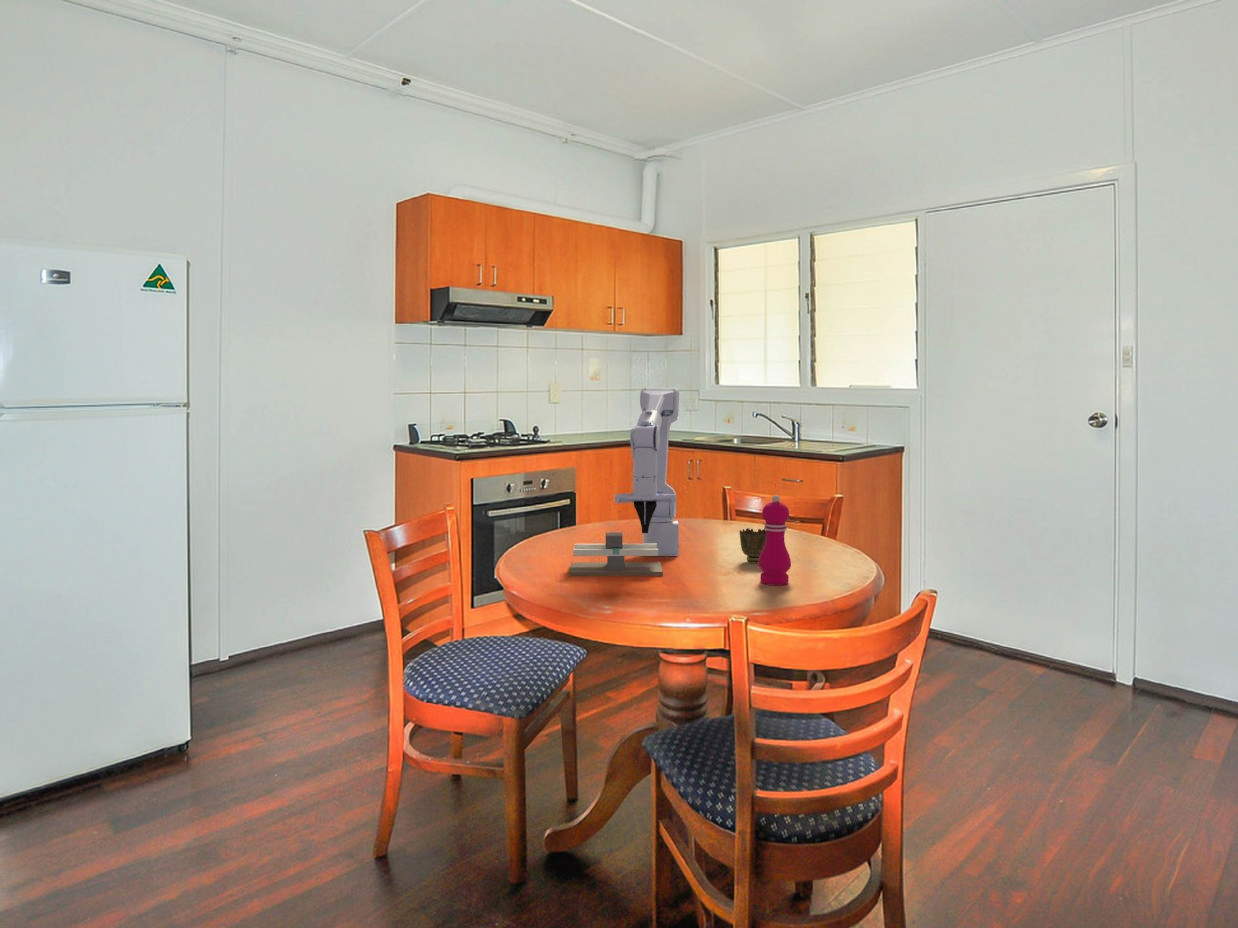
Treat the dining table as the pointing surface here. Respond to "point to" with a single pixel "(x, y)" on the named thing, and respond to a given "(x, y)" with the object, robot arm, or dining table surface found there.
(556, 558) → the dining table surface
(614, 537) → the rider
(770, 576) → the pepper mill
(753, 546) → the cup
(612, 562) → the balance stand
